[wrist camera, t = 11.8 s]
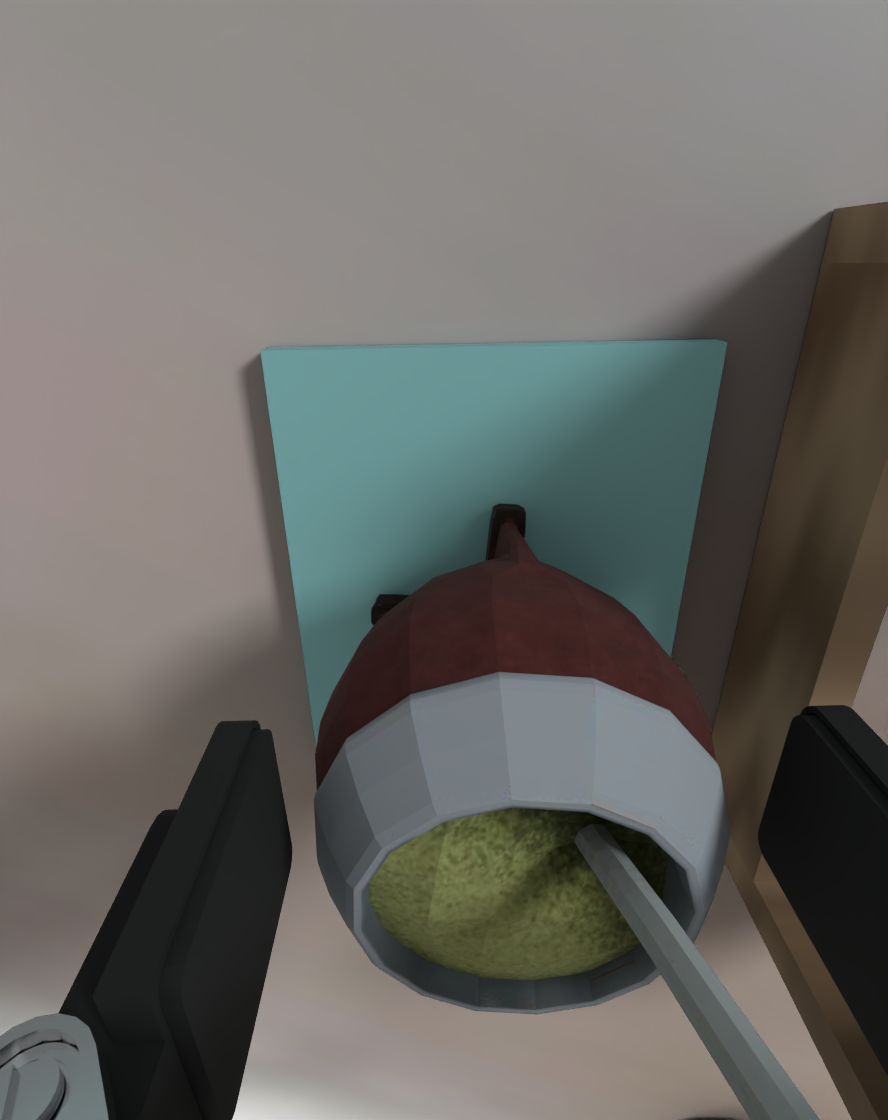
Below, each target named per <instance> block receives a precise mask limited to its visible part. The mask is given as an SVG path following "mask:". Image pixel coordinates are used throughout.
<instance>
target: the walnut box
mask: <svg viewBox="0 0 888 1120" xmlns="http://www.w3.org/2000/svg"><path fill="white" fill-rule="evenodd" d="M887 605H888V202H883V203H875V204H868V205H861V206H853V207H846V208H839V209H834V212H833V217H832V221H831V225H830V230H829V234H828V238H827V242H826V247H825V251H824V255H823V260H822V264H821V268H820V273H819V277H818V281H817V285H816V290H815V294H814V298H813V303H812V307H811V311H810V316H809V320H808V324H807V328H806V333H805V337H804V341H803V346H802V350H801V354H800V358H799V363H798V367H797V371H796V376H795V380H794V384H793V389H792V393H791V397H790V401H789V406H788V410H787V414H786V419H785V423H784V427H783V432H782V436H781V440H780V444H779V449H778V453H777V457H776V462H775V466H774V470H773V475H772V479H771V483H770V487H769V492H768V496H767V500H766V505H765V509H764V513H763V518H762V522H761V526H760V530H759V535H758V539H757V543H756V548H755V552H754V556H753V560H752V565H751V569H750V573H749V578H748V582H747V586H746V591H745V595H744V599H743V603H742V608H741V612H740V616H739V621H738V625H737V629H736V634H735V638H734V642H733V646H732V651H731V655H730V659H729V664H728V668H727V672H726V677H725V681H724V685H723V689H722V694H721V698H720V702H719V707H718V711H717V715H716V719H715V724H714V728H713V732H712V743H713V748H714V753H715V759H716V762H717V764H718V766H719V768H720V772H721V778H722V784H723V789H724V795H725V801H726V806H727V812H728V817H729V823H730V839H729V843H728V847H727V852H726V856H725V861H724V862H725V864H726V866H727V868H728V870H729V872H730V874H731V876H732V878H733V880H734V882H735V884H736V886H737V888H738V890H739V892H740V894H741V896H742V898H743V900H744V902H745V904H746V906H747V908H748V910H749V912H750V914H751V917H752V919H753V921H754V923H755V925H756V927H757V929H758V931H759V933H760V935H761V937H762V939H763V941H764V943H765V945H766V947H767V949H768V951H769V953H770V955H771V957H772V959H773V961H774V963H775V965H776V967H777V969H778V971H779V973H780V975H781V977H782V979H783V981H784V983H785V985H786V987H787V989H788V991H789V993H790V995H791V997H792V999H793V1001H794V1003H795V1005H796V1007H797V1009H798V1011H799V1013H800V1015H801V1017H802V1019H803V1021H804V1023H805V1025H806V1027H807V1029H808V1031H809V1033H810V1035H811V1037H812V1039H813V1041H814V1043H815V1045H816V1048H817V1050H818V1052H819V1054H820V1056H821V1058H822V1060H823V1062H824V1064H825V1066H826V1068H827V1070H828V1072H829V1074H830V1076H831V1078H832V1080H833V1082H834V1084H835V1086H836V1088H837V1090H838V1092H839V1094H840V1096H841V1098H842V1100H843V1102H844V1104H845V1106H846V1108H847V1110H848V1112H849V1114H850V1116H851V1118H852V1120H888V1076H887V1074H886V1073H885V1071H884V1069H883V1067H882V1065H881V1064H880V1062H879V1060H878V1058H877V1057H876V1055H875V1053H874V1051H873V1050H872V1048H871V1046H870V1044H869V1042H868V1041H867V1039H866V1037H865V1035H864V1034H863V1032H862V1030H861V1028H860V1027H859V1025H858V1023H857V1021H856V1019H855V1018H854V1016H853V1014H852V1012H851V1011H850V1009H849V1007H848V1005H847V1004H846V1002H845V1000H844V998H843V996H842V995H841V993H840V991H839V989H838V988H837V986H836V984H835V982H834V981H833V979H832V977H831V975H830V973H829V972H828V970H827V968H826V966H825V965H824V963H823V961H822V959H821V958H820V956H819V954H818V952H817V950H816V949H815V947H814V945H813V943H812V942H811V940H810V938H809V936H808V935H807V933H806V931H805V929H804V927H803V926H802V924H801V922H800V920H799V919H798V917H797V915H796V913H795V912H794V910H793V908H792V906H791V904H790V903H789V901H788V899H787V897H786V896H785V894H784V892H783V890H782V889H781V887H780V885H779V883H778V881H777V880H776V878H775V876H774V874H773V873H772V871H771V869H770V867H769V866H768V864H767V862H766V860H765V858H764V857H763V855H762V852H761V850H760V847H759V842H758V829H759V826H760V823H761V819H762V816H763V813H764V810H765V806H766V803H767V800H768V796H769V793H770V790H771V786H772V783H773V780H774V776H775V773H776V770H777V767H778V763H779V760H780V757H781V753H782V750H783V747H784V743H785V740H786V737H787V733H788V730H789V727H790V724H791V721H792V719H793V718H794V717H795V716H798V715H800V714H801V711H802V710H803V709H804V708H805V707H807V706H823V705H845V706H848V707H850V708H851V707H852V704H853V701H854V698H855V696H856V693H857V690H858V687H859V684H860V682H861V679H862V676H863V673H864V670H865V667H866V665H867V662H868V659H869V656H870V653H871V651H872V648H873V645H874V642H875V639H876V636H877V634H878V631H879V628H880V625H881V622H882V619H883V617H884V614H885V611H886V608H887Z"/></svg>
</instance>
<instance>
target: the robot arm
mask: <svg viewBox="0 0 888 1120" xmlns="http://www.w3.org/2000/svg"><path fill="white" fill-rule="evenodd" d="M758 842H759V847H760V850H761V852H762V855H763V857H764V858H765V860H766V862H767V864H768V866H769V867H770V869H771V871H772V873H773V874H774V876H775V878H776V880H777V881H778V883H779V885H780V887H781V889H782V890H783V892H784V894H785V896H786V897H787V899H788V901H789V903H790V904H791V906H792V908H793V910H794V912H795V913H796V915H797V917H798V919H799V920H800V922H801V924H802V926H803V927H804V929H805V931H806V933H807V935H808V936H809V938H810V940H811V942H812V943H813V945H814V947H815V949H816V950H817V952H818V954H819V956H820V958H821V959H822V961H823V963H824V965H825V966H826V968H827V970H828V972H829V973H830V975H831V977H832V979H833V981H834V982H835V984H836V986H837V988H838V989H839V991H840V993H841V995H842V996H843V998H844V1000H845V1002H846V1004H847V1005H848V1007H849V1009H850V1011H851V1012H852V1014H853V1016H854V1018H855V1019H856V1021H857V1023H858V1025H859V1027H860V1028H861V1030H862V1032H863V1034H864V1035H865V1037H866V1039H867V1041H868V1042H869V1044H870V1046H871V1048H872V1050H873V1051H874V1053H875V1055H876V1057H877V1058H878V1060H879V1062H880V1064H881V1065H882V1067H883V1069H884V1071H885V1073H886V1074H887V1076H888V746H887V745H886V744H885V743H884V742H883V740H882V739H881V738H880V737H879V736H878V735H877V734H876V733H875V732H874V731H873V730H872V729H871V728H870V727H869V726H868V725H867V724H866V723H865V722H864V721H863V719H862V718H861V717H860V716H859V715H858V714H857V713H856V712H855V711H854V710H852V709H851V708H850V707H848V706H845V705H823V706H807V707H805V708H804V709H803V710H802V711H801V714H800V715H798V716H795V717H794V718H793V719H792V721H791V724H790V727H789V730H788V733H787V737H786V740H785V743H784V747H783V750H782V753H781V757H780V760H779V763H778V767H777V770H776V773H775V776H774V780H773V783H772V786H771V790H770V793H769V796H768V800H767V803H766V806H765V810H764V813H763V816H762V819H761V823H760V826H759V829H758ZM291 861H292V843H291V838H290V832H289V826H288V821H287V815H286V810H285V804H284V799H283V793H282V787H281V782H280V776H279V771H278V765H277V760H276V754H275V748H274V743H273V737H272V733H271V731H270V730H268V729H266V730H261V728H260V724H259V723H258V721H255V720H253V721H221V722H220V723H218V725H217V727H216V728H215V731H214V733H213V735H212V737H211V739H210V741H209V744H208V746H207V748H206V750H205V752H204V755H203V757H202V759H201V761H200V763H199V765H198V768H197V770H196V772H195V774H194V776H193V778H192V781H191V783H190V785H189V787H188V789H187V791H186V794H185V796H184V798H183V800H182V802H181V805H180V807H179V809H178V810H164V811H162V812H161V813H160V814H159V815H158V816H157V817H156V819H155V821H154V822H153V824H152V825H151V827H150V829H149V831H148V833H147V835H146V837H145V839H144V841H143V843H142V846H141V848H140V850H139V852H138V854H137V856H136V858H135V860H134V862H133V864H132V866H131V868H130V870H129V872H128V874H127V876H126V878H125V880H124V882H123V884H122V886H121V888H120V890H119V892H118V894H117V896H116V898H115V900H114V902H113V904H112V906H111V908H110V910H109V912H108V914H107V916H106V918H105V920H104V922H103V924H102V926H101V928H100V930H99V932H98V934H97V936H96V938H95V941H94V943H93V945H92V947H91V949H90V951H89V953H88V955H87V957H86V959H85V961H84V963H83V965H82V967H81V969H80V971H79V973H78V975H77V977H76V979H75V981H74V983H73V985H72V987H71V989H70V991H69V993H68V995H67V997H66V999H65V1001H64V1003H63V1005H62V1007H61V1009H60V1011H59V1013H57V1014H51V1015H45V1016H39V1017H35V1018H33V1019H31V1020H28V1021H26V1022H24V1023H22V1024H19V1025H17V1026H15V1027H13V1028H11V1029H10V1030H8V1031H7V1032H5V1033H4V1034H3V1035H1V1036H0V1120H232V1118H233V1115H234V1112H235V1108H236V1104H237V1100H238V1096H239V1091H240V1087H241V1083H242V1078H243V1074H244V1069H245V1065H246V1061H247V1056H248V1052H249V1048H250V1043H251V1039H252V1035H253V1030H254V1026H255V1021H256V1017H257V1013H258V1008H259V1004H260V1000H261V995H262V991H263V987H264V982H265V978H266V973H267V969H268V965H269V960H270V956H271V952H272V947H273V943H274V939H275V934H276V930H277V925H278V921H279V917H280V912H281V908H282V904H283V899H284V895H285V891H286V886H287V882H288V877H289V873H290V868H291Z"/></svg>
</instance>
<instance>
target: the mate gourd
mask: <svg viewBox="0 0 888 1120" xmlns="http://www.w3.org/2000/svg"><path fill="white" fill-rule="evenodd" d="M525 529H526V512H525V508H523V507H521V506H520V505H517V504H502V503H500V504H497V505H495V506H493V508H492V513H491V518H490V524H489V533H488V541H487V550H486V559H485V561H482V562H479V563H476V564H473V565H470V566H467V567H464V568H461V569H458V570H455V571H452V572H448V573H445V574H442V575H439V576H436V577H433V578H432V579H431V580H429V581H428V582H427V583H426V584H424V585H423V586H422V587H420V588H419V589H418V590H416V591H415V592H414V593H412V594H411V595H400V594H379V596H378V597H377V599H376V602H375V604H374V605H373V607H372V608H371V623H372V625H373V627H372V628H371V630H370V631H369V632H368V633H367V635H366V636H365V637H364V638H363V640H362V641H361V642H360V644H359V646H358V648H357V650H356V651H355V653H354V655H353V657H352V658H351V660H350V662H349V664H348V666H347V667H346V669H345V671H344V673H343V674H342V676H341V678H340V680H339V682H338V683H337V685H336V687H335V689H334V690H333V692H332V694H331V697H330V699H329V702H328V704H327V707H326V709H325V711H324V714H323V716H322V719H321V721H320V727H319V734H318V740H317V747H316V753H315V760H316V782H317V792H316V794H315V798H314V809H315V828H316V847H317V859H318V864H319V867H320V870H321V873H322V875H323V878H324V881H325V884H326V886H327V889H328V892H329V894H330V896H331V898H332V900H333V902H334V903H335V905H336V907H337V909H338V911H339V912H340V914H341V916H342V918H343V920H344V921H345V923H346V925H347V926H348V928H349V929H350V931H351V932H352V934H353V935H354V937H355V938H356V940H357V941H358V943H359V944H360V946H361V947H362V948H363V950H364V951H365V953H366V954H367V956H368V957H369V959H370V960H371V962H372V963H373V964H374V965H375V966H377V967H378V968H379V969H381V970H382V971H384V972H385V973H387V974H389V975H390V976H392V977H393V978H395V979H397V980H398V981H400V982H401V983H403V984H404V985H406V986H408V987H409V988H411V989H412V990H414V991H416V992H417V993H419V994H420V995H423V996H426V997H429V998H433V999H436V1000H440V1001H443V1002H447V1003H450V1004H454V1005H457V1006H461V1007H464V1008H468V1009H471V1010H475V1011H486V1012H504V1013H521V1014H542V1013H549V1012H555V1011H562V1010H568V1009H575V1008H581V1007H588V1006H594V1005H598V1004H601V1003H603V1002H606V1001H608V1000H610V999H613V998H615V997H618V996H620V995H623V994H625V993H628V992H630V991H633V990H635V989H637V988H640V987H642V986H645V985H647V984H649V983H651V982H652V981H653V980H654V979H655V978H657V977H658V976H659V975H660V974H661V975H662V977H663V979H664V980H665V982H666V983H667V985H668V987H669V988H670V990H671V992H672V993H673V995H674V996H675V998H676V1000H677V1001H678V1003H679V1004H680V1006H681V1008H682V1009H683V1011H684V1013H685V1014H686V1016H687V1017H688V1019H689V1021H690V1022H691V1024H692V1025H693V1027H694V1029H695V1030H696V1032H697V1034H698V1035H699V1037H700V1038H701V1040H702V1042H703V1043H704V1045H705V1046H706V1048H707V1050H708V1051H709V1053H710V1055H711V1056H712V1058H713V1059H714V1061H715V1063H716V1064H717V1066H718V1067H719V1069H720V1071H721V1072H722V1074H723V1076H724V1077H725V1079H726V1080H727V1082H728V1084H729V1085H730V1087H731V1088H732V1090H733V1092H734V1093H735V1095H736V1097H737V1098H738V1100H739V1101H740V1103H741V1105H742V1106H743V1108H744V1109H745V1111H746V1113H747V1114H748V1116H749V1118H750V1119H751V1120H820V1119H819V1118H818V1117H817V1115H816V1114H815V1112H814V1111H813V1109H812V1108H811V1107H810V1105H809V1104H808V1102H807V1101H806V1100H805V1098H804V1097H803V1096H802V1094H801V1093H800V1091H799V1090H798V1089H797V1087H796V1086H795V1084H794V1083H793V1082H792V1080H791V1079H790V1077H789V1076H788V1075H787V1073H786V1072H785V1070H784V1069H783V1068H782V1066H781V1065H780V1064H779V1062H778V1061H777V1059H776V1058H775V1057H774V1055H773V1054H772V1052H771V1051H770V1050H769V1048H768V1047H767V1045H766V1044H765V1043H764V1041H763V1040H762V1038H761V1037H760V1036H759V1034H758V1033H757V1032H756V1030H755V1029H754V1027H753V1026H752V1025H751V1023H750V1022H749V1020H748V1019H747V1018H746V1016H745V1015H744V1013H743V1012H742V1011H741V1009H740V1008H739V1007H738V1005H737V1004H736V1002H735V1001H734V1000H733V998H732V997H731V995H730V994H729V993H728V991H727V990H726V988H725V987H724V986H723V984H722V983H721V981H720V980H719V979H718V977H717V976H716V975H715V973H714V972H713V970H712V969H711V968H710V966H709V965H708V963H707V962H706V961H705V959H704V958H703V956H702V955H701V954H700V952H699V951H698V949H697V948H696V947H695V945H694V942H695V940H696V937H697V935H698V933H699V931H700V928H701V926H702V924H703V922H704V919H705V917H706V915H707V913H708V910H709V908H710V906H711V903H712V901H713V898H714V895H715V891H716V888H717V885H718V882H719V879H720V875H721V872H722V869H723V865H724V861H725V856H726V852H727V847H728V843H729V839H730V823H729V817H728V812H727V806H726V801H725V795H724V789H723V784H722V778H721V772H720V768H719V766H718V764H717V762H716V759H715V753H714V748H713V743H712V737H711V732H710V726H709V722H708V719H707V717H706V715H705V713H704V710H703V708H702V706H701V704H700V701H699V699H698V697H697V695H696V692H695V690H694V689H693V687H692V686H691V684H690V683H689V682H688V680H687V679H686V678H685V676H684V675H683V673H682V672H681V671H680V669H679V668H678V666H677V665H676V664H675V662H674V661H673V660H672V659H671V657H670V656H669V655H668V654H667V653H666V651H665V650H664V649H663V648H662V647H661V645H660V644H659V643H658V642H657V641H656V639H655V638H654V637H653V636H652V635H651V633H650V632H649V631H648V630H647V629H646V627H645V626H644V625H643V624H642V623H641V621H640V620H639V619H638V618H637V617H636V615H635V614H633V613H632V612H631V611H630V610H628V609H627V608H626V607H625V606H624V605H622V604H621V603H620V602H619V601H617V600H616V599H615V598H613V597H612V596H610V595H608V594H606V593H604V592H602V591H600V590H598V589H597V588H595V587H593V586H591V585H589V584H587V583H585V582H583V581H582V580H580V579H578V578H576V577H574V576H572V575H570V574H568V573H566V572H564V571H562V570H560V569H558V568H556V567H554V566H552V565H549V564H546V563H543V562H540V561H538V559H537V558H536V556H535V555H534V553H533V552H532V550H531V549H530V547H529V546H528V544H527V542H526V540H525V539H524V538H525Z"/></svg>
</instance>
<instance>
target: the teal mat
mask: <svg viewBox="0 0 888 1120" xmlns="http://www.w3.org/2000/svg"><path fill="white" fill-rule="evenodd" d="M727 344H728V342H725V341H721V340H717V339H698V340H643V341H588V342H532V343H477V344H422V345H366V346H311V347H267V348H265V349H263V350H261V351H260V352H261V359H262V367H263V374H264V381H265V388H266V395H267V402H268V409H269V416H270V423H271V431H272V438H273V445H274V452H275V459H276V466H277V473H278V480H279V488H280V495H281V502H282V509H283V516H284V523H285V530H286V537H287V545H288V552H289V559H290V566H291V573H292V580H293V587H294V594H295V602H296V609H297V616H298V623H299V630H300V637H301V644H302V651H303V658H304V666H305V673H306V680H307V687H308V694H309V701H310V708H311V715H312V723H313V730H314V737H315V744H316V747H317V740H318V734H319V727H320V721H321V719H322V716H323V714H324V711H325V709H326V707H327V704H328V702H329V699H330V697H331V694H332V692H333V690H334V689H335V687H336V685H337V683H338V682H339V680H340V678H341V676H342V674H343V673H344V671H345V669H346V667H347V666H348V664H349V662H350V660H351V658H352V657H353V655H354V653H355V651H356V650H357V648H358V646H359V644H360V642H361V641H362V640H363V638H364V637H365V636H366V635H367V633H368V632H369V631H370V630H371V628H372V627H373V625H372V623H371V608H372V607H373V605H374V604H375V602H376V599H377V597H378V596H379V594H400V595H411V594H412V593H414V592H415V591H416V590H418V589H419V588H420V587H422V586H423V585H424V584H426V583H427V582H428V581H429V580H431V579H432V578H433V577H436V576H439V575H442V574H445V573H448V572H452V571H455V570H458V569H461V568H464V567H467V566H470V565H473V564H476V563H479V562H482V561H485V559H486V550H487V541H488V533H489V524H490V518H491V513H492V508H493V506H495V505H497V504H500V503H502V504H517V505H520V506H521V507H523V508H525V512H526V529H525V538H524V539H525V540H526V542H527V544H528V546H529V547H530V549H531V550H532V552H533V553H534V555H535V556H536V558H537V559H538V561H540V562H543V563H546V564H549V565H552V566H554V567H556V568H558V569H560V570H562V571H564V572H566V573H568V574H570V575H572V576H574V577H576V578H578V579H580V580H582V581H583V582H585V583H587V584H589V585H591V586H593V587H595V588H597V589H598V590H600V591H602V592H604V593H606V594H608V595H610V596H612V597H613V598H615V599H616V600H617V601H619V602H620V603H621V604H622V605H624V606H625V607H626V608H627V609H628V610H630V611H631V612H632V613H633V614H635V615H636V617H637V618H638V619H639V620H640V621H641V623H642V624H643V625H644V626H645V627H646V629H647V630H648V631H649V632H650V633H651V635H652V636H653V637H654V638H655V639H656V641H657V642H658V643H659V644H660V645H661V647H662V648H663V649H664V650H665V651H666V653H667V654H668V655H669V656H670V657H671V653H672V648H673V642H674V637H675V631H676V626H677V620H678V614H679V609H680V603H681V598H682V592H683V587H684V581H685V576H686V570H687V565H688V559H689V554H690V548H691V543H692V537H693V532H694V526H695V520H696V515H697V509H698V504H699V498H700V493H701V487H702V482H703V476H704V471H705V465H706V460H707V454H708V449H709V443H710V438H711V432H712V426H713V421H714V415H715V410H716V404H717V399H718V393H719V388H720V382H721V377H722V371H723V366H724V360H725V355H726V349H727Z"/></svg>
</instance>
